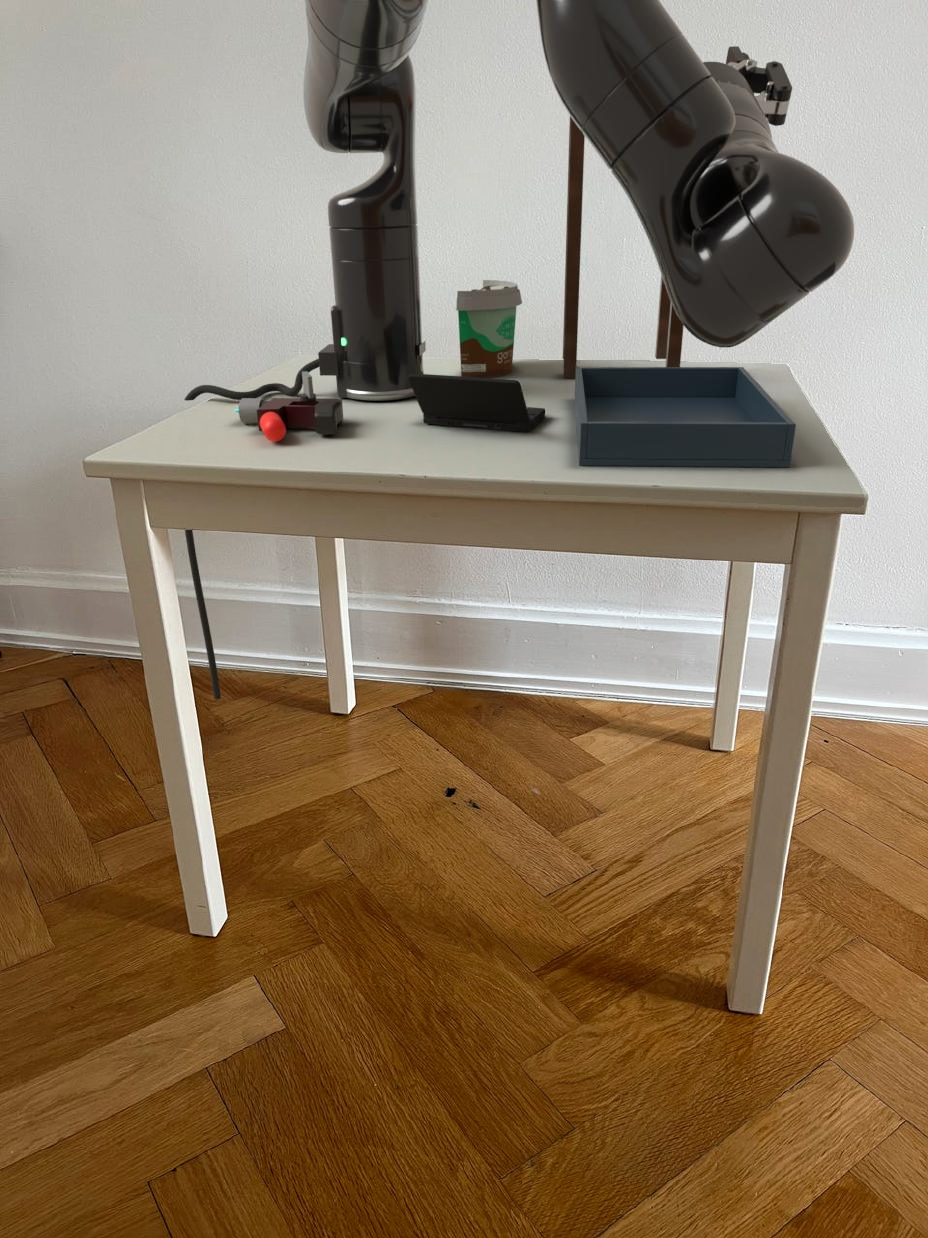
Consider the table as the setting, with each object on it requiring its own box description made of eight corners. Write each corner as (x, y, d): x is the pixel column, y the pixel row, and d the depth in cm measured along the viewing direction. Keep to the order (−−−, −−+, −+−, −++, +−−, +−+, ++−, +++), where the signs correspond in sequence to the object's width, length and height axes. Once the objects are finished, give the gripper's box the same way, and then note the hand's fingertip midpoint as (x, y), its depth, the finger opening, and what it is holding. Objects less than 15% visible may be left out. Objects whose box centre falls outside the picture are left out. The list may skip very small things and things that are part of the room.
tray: (579, 465, 75) (580, 423, 74) (574, 401, 96) (575, 367, 94) (789, 467, 74) (796, 423, 72) (739, 401, 94) (743, 366, 93)
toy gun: (240, 418, 92) (234, 370, 90) (354, 420, 90) (350, 371, 88) (202, 444, 84) (194, 392, 81) (327, 447, 82) (322, 393, 80)
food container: (508, 382, 105) (508, 292, 100) (457, 380, 107) (455, 291, 102) (531, 362, 116) (532, 279, 111) (484, 360, 117) (484, 279, 113)
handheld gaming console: (547, 395, 91) (528, 324, 82) (545, 453, 88) (525, 386, 79) (438, 408, 94) (409, 340, 85) (432, 464, 91) (401, 401, 82)
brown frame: (561, 378, 106) (569, 84, 93) (560, 356, 119) (568, 94, 105) (681, 378, 105) (707, 80, 92) (668, 356, 117) (689, 90, 104)
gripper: (827, 80, 60) (776, 4, 71) (613, 86, 61) (594, 10, 71) (799, 193, 66) (755, 108, 76) (603, 198, 66) (587, 112, 77)
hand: (677, 60), depth 74 cm, fingers open, 8 cm apart
